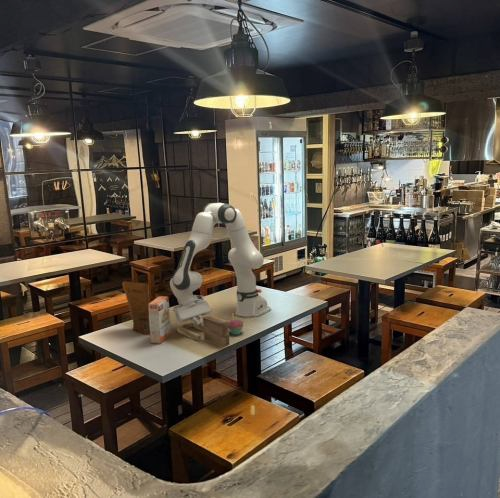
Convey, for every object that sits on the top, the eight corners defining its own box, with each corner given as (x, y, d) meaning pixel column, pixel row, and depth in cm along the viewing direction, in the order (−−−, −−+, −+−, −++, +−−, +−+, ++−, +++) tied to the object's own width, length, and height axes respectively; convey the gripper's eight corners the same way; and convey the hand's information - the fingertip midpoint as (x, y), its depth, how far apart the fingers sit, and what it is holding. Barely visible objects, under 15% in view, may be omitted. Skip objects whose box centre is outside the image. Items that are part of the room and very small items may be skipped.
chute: (194, 325, 253) (194, 321, 253) (216, 334, 239) (216, 329, 238) (176, 331, 245) (175, 327, 245) (198, 341, 231) (197, 336, 230)
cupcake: (237, 337, 234) (236, 315, 232) (224, 334, 238) (223, 312, 236) (246, 331, 241) (245, 310, 239) (233, 329, 246) (232, 307, 243)
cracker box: (161, 344, 229) (158, 304, 225) (150, 343, 230) (147, 303, 226) (171, 333, 242) (169, 296, 238) (161, 333, 243) (158, 295, 239)
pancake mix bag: (147, 337, 238) (143, 285, 233) (125, 329, 250) (120, 280, 245) (157, 333, 244) (153, 282, 238) (135, 326, 255) (131, 277, 250)
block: (211, 336, 236) (210, 314, 234) (229, 344, 226) (228, 321, 224) (204, 339, 233) (202, 317, 230) (221, 347, 222) (220, 323, 220)
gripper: (173, 303, 234) (186, 326, 229) (205, 295, 248) (217, 316, 243) (169, 310, 238) (181, 332, 233) (200, 301, 252) (212, 322, 247)
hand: (200, 324), depth 238 cm, fingers closed
